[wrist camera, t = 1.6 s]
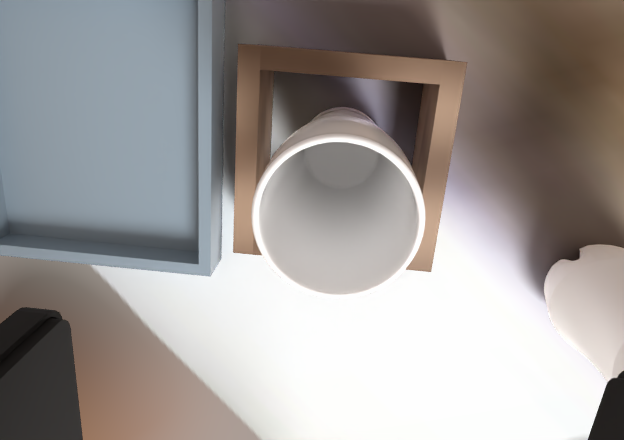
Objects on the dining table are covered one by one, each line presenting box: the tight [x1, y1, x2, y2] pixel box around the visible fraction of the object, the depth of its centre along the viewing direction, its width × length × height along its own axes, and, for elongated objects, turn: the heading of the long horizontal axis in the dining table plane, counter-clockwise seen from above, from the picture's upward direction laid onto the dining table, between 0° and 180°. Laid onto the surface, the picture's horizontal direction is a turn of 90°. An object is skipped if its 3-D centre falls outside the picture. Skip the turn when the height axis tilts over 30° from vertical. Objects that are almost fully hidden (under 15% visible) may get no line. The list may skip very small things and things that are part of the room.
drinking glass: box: [251, 107, 425, 298], centre depth 25 cm, size 7×7×15 cm
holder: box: [233, 44, 467, 272], centre depth 30 cm, size 12×12×6 cm
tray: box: [0, 0, 225, 276], centre depth 32 cm, size 18×16×3 cm
